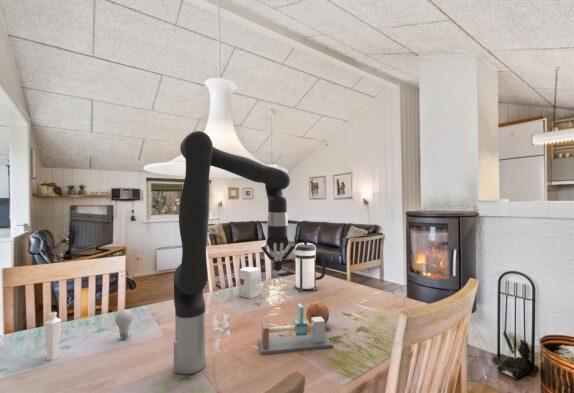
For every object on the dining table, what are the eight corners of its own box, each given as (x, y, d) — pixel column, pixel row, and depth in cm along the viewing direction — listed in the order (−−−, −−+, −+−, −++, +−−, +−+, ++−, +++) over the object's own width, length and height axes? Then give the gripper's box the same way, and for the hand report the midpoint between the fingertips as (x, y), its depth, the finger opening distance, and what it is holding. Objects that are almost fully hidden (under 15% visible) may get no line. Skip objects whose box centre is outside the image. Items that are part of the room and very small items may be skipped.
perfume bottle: (57, 359, 99) (58, 314, 100) (42, 361, 98) (42, 316, 98) (63, 352, 104) (64, 309, 104) (49, 354, 103) (49, 311, 103)
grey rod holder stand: (260, 354, 102) (260, 329, 102) (258, 341, 112) (258, 318, 112) (332, 347, 107) (332, 323, 107) (324, 335, 117) (324, 313, 117)
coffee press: (312, 294, 167) (312, 241, 167) (288, 290, 175) (288, 239, 176) (325, 287, 181) (325, 238, 182) (303, 283, 190) (302, 236, 190)
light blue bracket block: (296, 336, 107) (296, 307, 108) (294, 331, 112) (294, 304, 112) (307, 335, 108) (307, 307, 108) (304, 330, 112) (304, 303, 112)
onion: (310, 319, 132) (310, 297, 132) (332, 323, 128) (332, 300, 128) (302, 327, 123) (302, 303, 124) (325, 332, 119) (325, 307, 119)
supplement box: (238, 296, 165) (238, 269, 165) (249, 292, 172) (249, 266, 172) (250, 299, 160) (250, 271, 160) (261, 294, 167) (261, 268, 167)
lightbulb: (129, 341, 112) (129, 312, 112) (112, 343, 111) (112, 313, 111) (135, 334, 118) (135, 306, 118) (118, 335, 117) (118, 307, 117)
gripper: (260, 225, 106) (260, 274, 106) (296, 224, 108) (297, 272, 108) (258, 224, 113) (259, 269, 113) (292, 223, 116) (292, 267, 116)
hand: (277, 270), depth 111 cm, fingers closed
